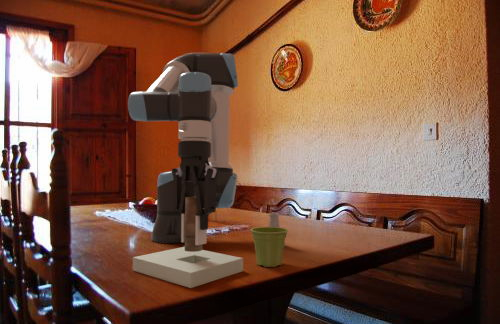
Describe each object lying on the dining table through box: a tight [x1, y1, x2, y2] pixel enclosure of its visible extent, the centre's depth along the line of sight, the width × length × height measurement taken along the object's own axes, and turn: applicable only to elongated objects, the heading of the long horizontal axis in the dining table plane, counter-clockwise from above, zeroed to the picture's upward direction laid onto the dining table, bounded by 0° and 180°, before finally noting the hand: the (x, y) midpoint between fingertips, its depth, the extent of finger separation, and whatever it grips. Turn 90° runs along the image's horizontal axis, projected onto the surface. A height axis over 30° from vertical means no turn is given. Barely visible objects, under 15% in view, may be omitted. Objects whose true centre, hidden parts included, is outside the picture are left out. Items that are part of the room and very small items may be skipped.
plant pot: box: [250, 226, 289, 268], centre depth 91 cm, size 9×9×9 cm
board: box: [132, 246, 244, 289], centre depth 85 cm, size 20×16×3 cm
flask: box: [268, 212, 286, 247], centre depth 113 cm, size 7×7×10 cm
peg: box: [184, 197, 203, 252], centre depth 84 cm, size 4×4×12 cm
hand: (193, 242), depth 84 cm, fingers closed on peg, 4 cm apart
